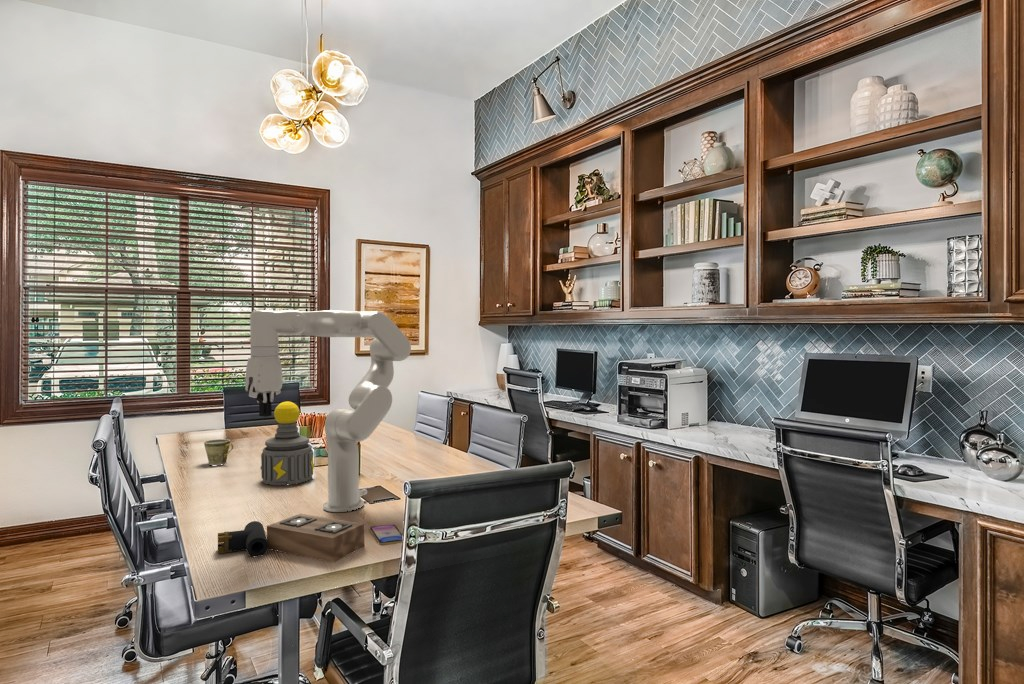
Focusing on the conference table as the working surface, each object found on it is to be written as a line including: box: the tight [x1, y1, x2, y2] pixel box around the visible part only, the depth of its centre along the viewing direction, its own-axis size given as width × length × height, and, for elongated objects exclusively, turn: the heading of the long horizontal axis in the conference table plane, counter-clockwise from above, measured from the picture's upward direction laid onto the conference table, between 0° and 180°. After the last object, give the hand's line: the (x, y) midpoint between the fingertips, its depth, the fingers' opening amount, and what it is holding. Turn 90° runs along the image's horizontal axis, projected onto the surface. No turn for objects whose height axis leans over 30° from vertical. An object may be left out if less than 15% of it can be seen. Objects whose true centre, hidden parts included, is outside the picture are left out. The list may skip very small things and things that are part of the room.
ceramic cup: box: [203, 438, 234, 466], centre depth 259 cm, size 13×10×10 cm
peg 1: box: [290, 518, 306, 525], centre depth 163 cm, size 4×4×6 cm
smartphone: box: [369, 524, 403, 546], centre depth 170 cm, size 8×15×1 cm, turn 24°
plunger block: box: [266, 513, 365, 563], centre depth 160 cm, size 12×22×6 cm, turn 65°
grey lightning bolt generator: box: [260, 401, 315, 486], centre depth 232 cm, size 19×19×30 cm
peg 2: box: [326, 524, 342, 531], centre depth 158 cm, size 4×4×6 cm
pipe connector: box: [217, 520, 269, 558], centre depth 160 cm, size 12×5×15 cm
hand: (265, 415), depth 178 cm, fingers closed
